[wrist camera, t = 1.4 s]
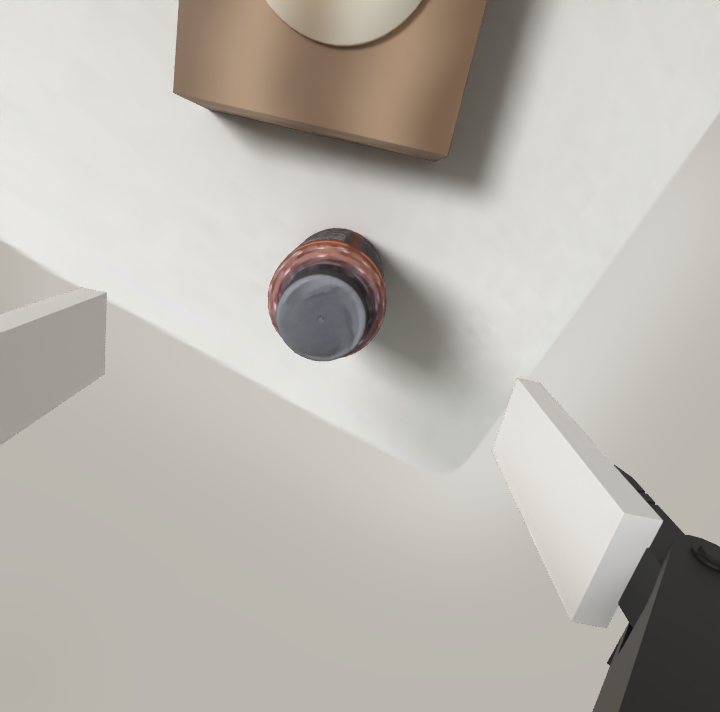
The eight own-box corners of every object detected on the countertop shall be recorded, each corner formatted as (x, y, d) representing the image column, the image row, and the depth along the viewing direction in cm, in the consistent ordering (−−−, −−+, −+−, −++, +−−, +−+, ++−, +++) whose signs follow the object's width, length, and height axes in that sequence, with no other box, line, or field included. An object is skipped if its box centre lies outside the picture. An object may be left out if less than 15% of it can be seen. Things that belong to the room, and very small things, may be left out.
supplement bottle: (275, 263, 31) (222, 303, 20) (347, 207, 29) (331, 218, 19) (330, 333, 32) (309, 404, 22) (401, 283, 31) (415, 333, 20)
